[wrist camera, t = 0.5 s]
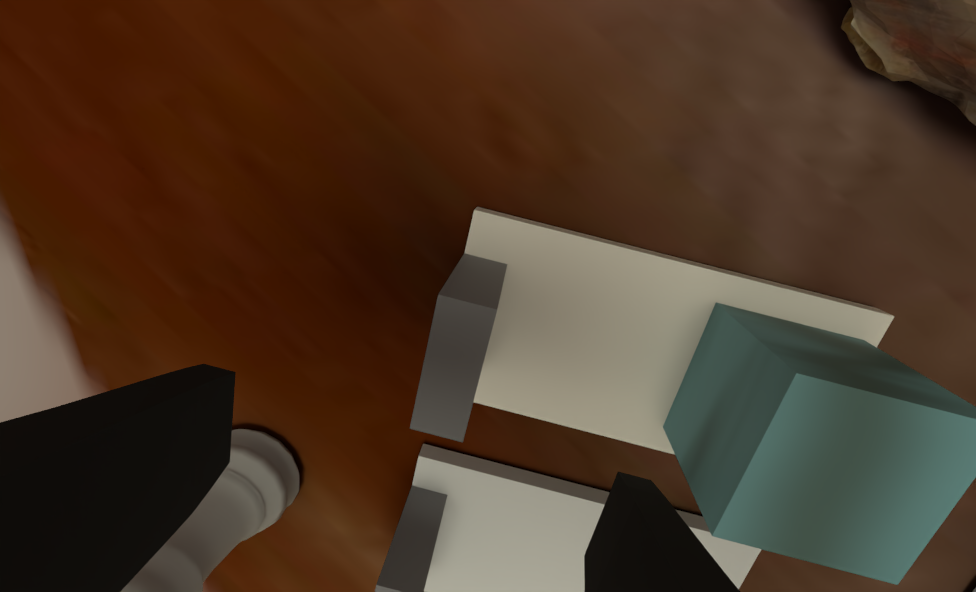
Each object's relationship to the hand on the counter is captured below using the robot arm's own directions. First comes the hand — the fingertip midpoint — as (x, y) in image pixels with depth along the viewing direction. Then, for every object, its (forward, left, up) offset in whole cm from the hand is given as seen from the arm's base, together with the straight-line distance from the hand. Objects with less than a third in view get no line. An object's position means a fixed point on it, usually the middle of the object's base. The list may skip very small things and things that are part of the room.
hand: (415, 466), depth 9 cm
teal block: (-10, 0, -8) cm, 13 cm away
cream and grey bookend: (-6, +10, -9) cm, 15 cm away
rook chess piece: (+8, +10, -9) cm, 16 cm away
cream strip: (-6, 0, -9) cm, 11 cm away
